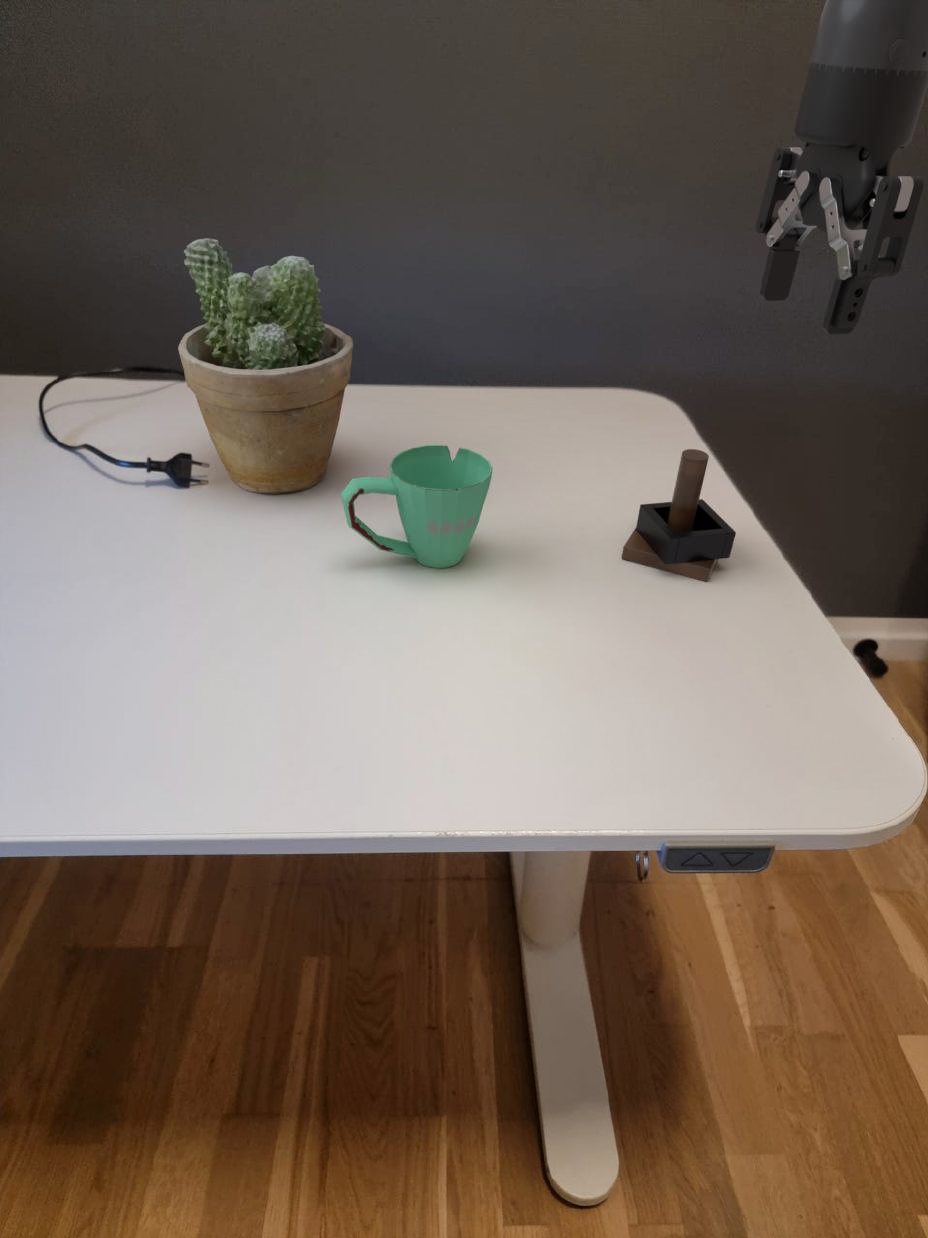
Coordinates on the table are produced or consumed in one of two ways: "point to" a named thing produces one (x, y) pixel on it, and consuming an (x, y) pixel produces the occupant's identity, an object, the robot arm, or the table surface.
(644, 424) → the table surface
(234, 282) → the potted plant
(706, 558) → the ring
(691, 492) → the post
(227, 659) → the table surface
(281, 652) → the table surface
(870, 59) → the robot arm
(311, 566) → the table surface
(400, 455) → the mug
